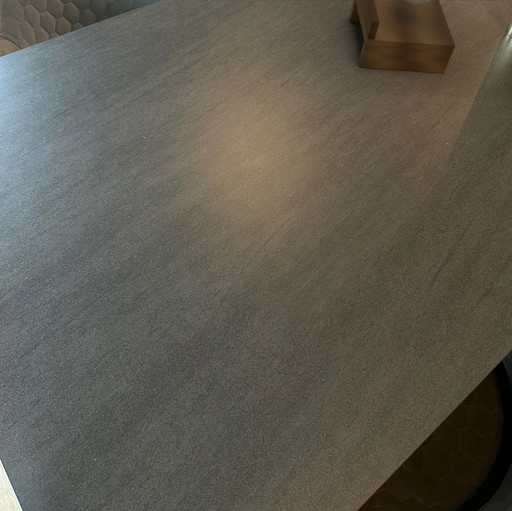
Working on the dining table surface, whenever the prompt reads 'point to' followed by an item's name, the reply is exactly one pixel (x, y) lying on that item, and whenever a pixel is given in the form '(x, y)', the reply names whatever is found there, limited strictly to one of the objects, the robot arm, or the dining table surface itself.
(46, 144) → the dining table surface
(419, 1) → the drinking glass
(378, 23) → the tan wooden box
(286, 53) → the dining table surface
